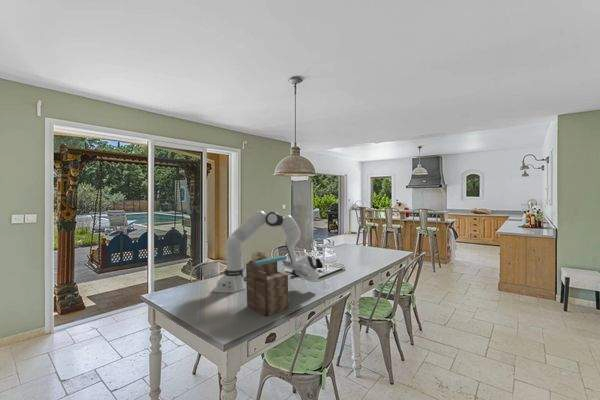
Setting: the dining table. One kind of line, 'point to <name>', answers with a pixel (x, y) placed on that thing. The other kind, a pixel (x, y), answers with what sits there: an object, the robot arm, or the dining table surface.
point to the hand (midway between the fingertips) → (287, 262)
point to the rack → (266, 286)
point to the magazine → (319, 265)
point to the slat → (270, 260)
